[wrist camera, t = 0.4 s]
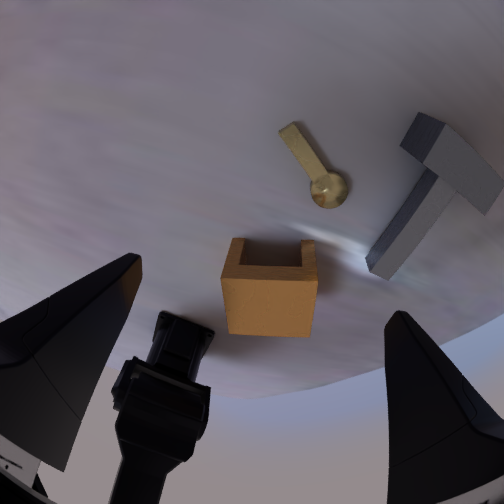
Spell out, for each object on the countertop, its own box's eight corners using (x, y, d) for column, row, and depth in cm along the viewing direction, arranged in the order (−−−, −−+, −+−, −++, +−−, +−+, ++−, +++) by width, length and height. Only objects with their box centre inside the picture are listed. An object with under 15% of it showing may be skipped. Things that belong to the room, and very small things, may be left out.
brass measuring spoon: (351, 191, 20) (354, 197, 19) (321, 208, 21) (323, 214, 20) (301, 115, 17) (302, 118, 16) (270, 136, 18) (269, 139, 17)
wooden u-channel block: (307, 294, 26) (309, 337, 22) (238, 292, 27) (229, 333, 23) (313, 239, 23) (318, 281, 18) (232, 237, 23) (220, 278, 19)
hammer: (400, 270, 23) (413, 302, 20) (338, 240, 22) (346, 272, 19) (477, 163, 16) (505, 183, 13) (418, 111, 15) (446, 123, 12)
